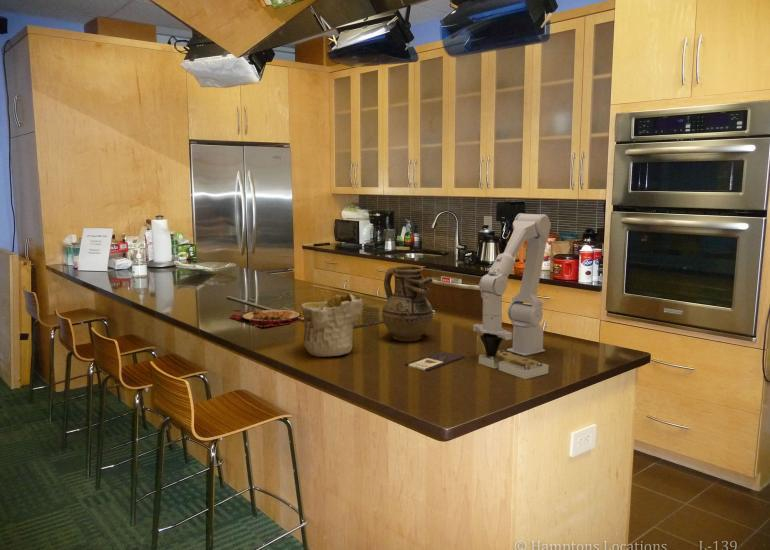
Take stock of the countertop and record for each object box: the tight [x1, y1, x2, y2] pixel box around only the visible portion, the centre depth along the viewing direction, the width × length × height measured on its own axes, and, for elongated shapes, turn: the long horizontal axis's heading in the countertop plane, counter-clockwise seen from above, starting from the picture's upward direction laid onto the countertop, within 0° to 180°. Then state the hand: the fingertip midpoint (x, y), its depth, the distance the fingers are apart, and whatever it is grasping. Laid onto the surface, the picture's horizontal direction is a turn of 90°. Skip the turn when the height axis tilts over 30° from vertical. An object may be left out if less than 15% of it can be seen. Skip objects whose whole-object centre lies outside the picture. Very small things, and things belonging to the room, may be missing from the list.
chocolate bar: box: [404, 351, 465, 372], centre depth 191 cm, size 9×1×18 cm
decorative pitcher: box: [381, 265, 434, 342], centre depth 217 cm, size 22×18×25 cm
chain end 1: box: [478, 349, 513, 369], centre depth 188 cm, size 9×6×3 cm
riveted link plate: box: [495, 351, 536, 367], centre depth 183 cm, size 4×12×4 cm, turn 35°
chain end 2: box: [498, 360, 549, 380], centre depth 179 cm, size 9×10×3 cm
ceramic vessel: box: [300, 293, 364, 358], centre depth 201 cm, size 21×22×23 cm
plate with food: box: [229, 309, 304, 328], centre depth 252 cm, size 25×26×4 cm
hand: (491, 358), depth 190 cm, fingers closed
